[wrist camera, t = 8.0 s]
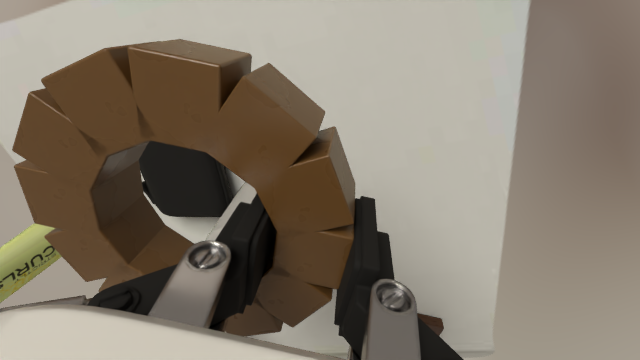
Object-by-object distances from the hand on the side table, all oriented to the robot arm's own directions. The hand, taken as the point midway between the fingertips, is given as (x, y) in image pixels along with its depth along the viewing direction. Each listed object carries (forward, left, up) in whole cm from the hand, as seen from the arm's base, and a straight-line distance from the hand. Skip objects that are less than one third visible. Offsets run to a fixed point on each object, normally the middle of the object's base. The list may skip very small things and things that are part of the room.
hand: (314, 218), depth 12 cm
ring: (-4, 0, 0) cm, 4 cm away
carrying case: (-17, -10, -20) cm, 28 cm away
